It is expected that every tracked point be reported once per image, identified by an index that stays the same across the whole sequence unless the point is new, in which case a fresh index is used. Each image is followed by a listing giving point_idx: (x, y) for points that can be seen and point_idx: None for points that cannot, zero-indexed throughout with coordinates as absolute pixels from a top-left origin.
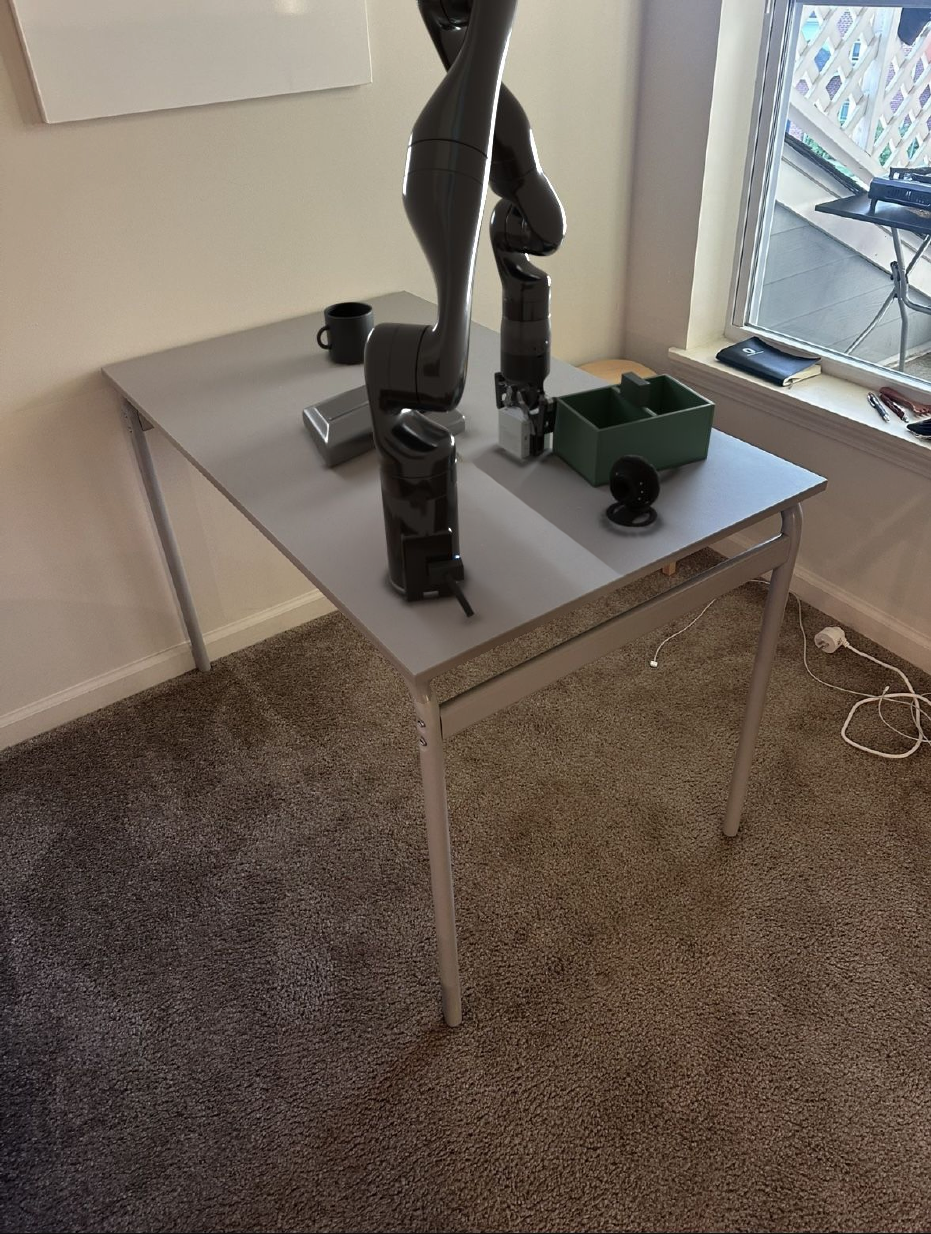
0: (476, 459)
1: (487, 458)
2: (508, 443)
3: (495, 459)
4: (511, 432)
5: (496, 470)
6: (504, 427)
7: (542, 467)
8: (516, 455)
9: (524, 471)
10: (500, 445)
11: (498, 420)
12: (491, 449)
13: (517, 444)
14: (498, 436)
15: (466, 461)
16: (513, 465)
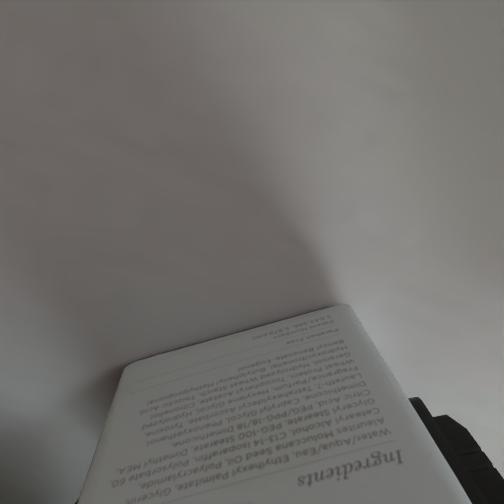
0: (313, 128)
1: (292, 206)
2: (246, 391)
3: (257, 249)
4: (211, 499)
5: (105, 200)
6: (327, 481)
7: (64, 445)
8: (159, 377)
9: (42, 350)
10: (334, 333)
11: (461, 491)
12: (393, 272)
13: (135, 447)
14: (382, 364)
15: (318, 41)
16: (138, 320)
